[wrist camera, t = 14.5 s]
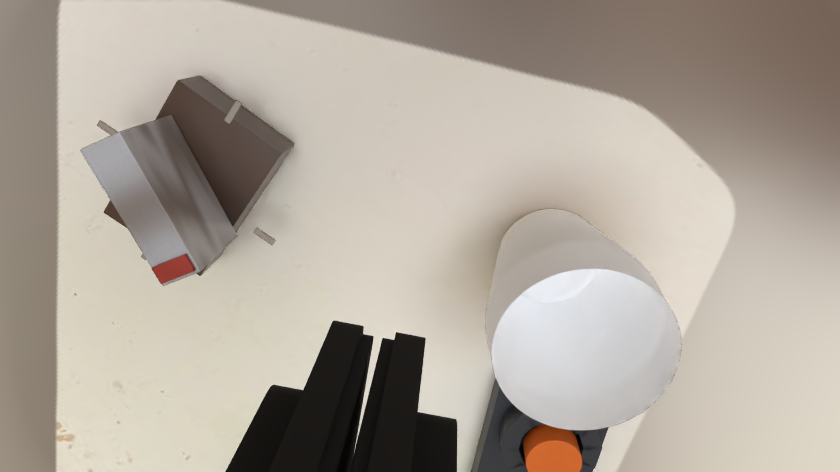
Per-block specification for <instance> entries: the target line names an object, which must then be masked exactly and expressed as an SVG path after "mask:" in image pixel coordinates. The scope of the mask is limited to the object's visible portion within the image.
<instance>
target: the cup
mask: <svg viewBox="0 0 840 472" xmlns="http://www.w3.org/2000/svg"><path fill="white" fill-rule="evenodd" d="M485 331H486V338H487V343H488V346H489V350H490V355H491V360H492V366H493V371H494V374H495V377H496V380H497V382H498V384H499V386H500V388H501V390H502V391H503V393H504V394H505V396H506V397H507V398H508V399H509V400H510V402H511V403H512V404H513V405H514V406H515V407H517V408H518V409H519V410H520V411H521V412H523V413H524V414H526V415H527V416H529V417H531V418H532V419H534V420H536V421H538V422H541V423H543V424H546V425H549V426H552V427H556V428H561V429H567V430H595V429H602V428H607V427H610V426H614V425H617V424H620V423H623V422H625V421H627V420H629V419H631V418H633V417H635V416H637V415H639V414H640V413H642V412H643V411H645V410H646V409H648V408H649V407H650V406H651V405H652V404H654V403H655V402H656V401H657V400H658V399H659V398H660V397H661V395H662V394H663V393H664V392H665V391H666V389H667V388H668V386H669V385H670V383H671V382H672V380H673V378H674V376H675V373H676V371H677V368H678V365H679V362H680V356H681V346H682V343H681V334H680V328H679V325H678V322H677V319H676V317H675V315H674V313H673V311H672V310H671V308H670V306H669V305H668V303H667V301H666V300H665V298H664V296H663V294H662V293H661V290H660V288H659V286H658V284H657V282H656V281H655V279H654V277H653V276H652V275H651V274H650V272H649V271H648V270H647V269H646V268H645V267H644V266H643V265H642V264H641V263H640V262H639V261H638V260H637V259H636V258H634V257H633V256H632V255H631V254H629V253H628V252H627V251H625V250H624V249H623V248H621V247H620V246H619V245H617V244H616V243H615V242H613V241H612V240H611V239H609V238H608V237H607V236H605V235H604V234H603V233H601V232H600V231H599V230H597V229H596V228H595V227H593V226H592V225H591V224H589V223H588V222H587V221H585V220H584V219H582V218H581V217H579V216H578V215H576V214H574V213H571V212H568V211H565V210H560V209H544V210H539V211H535V212H532V213H530V214H528V215H525V216H524V217H522V218H520V219H519V220H518V221H516V222H515V223H514V224H513V225H512V226H511V227H510V228H509V229H508V231H507V232H506V234H505V235H504V237H503V239H502V241H501V244H500V248H499V252H498V256H497V261H496V266H495V270H494V275H493V279H492V284H491V289H490V293H489V298H488V303H487V308H486V316H485Z"/></svg>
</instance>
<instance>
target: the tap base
mask: <svg viewBox="0 0 840 472" xmlns="http://www.w3.org/2000/svg"><path fill="white" fill-rule="evenodd" d="M241 105H242V103H240V102H239V101H237V100H236V101H234V100H233V99H232V98H230V97H229V96H228V95H226V94H225V93H223V92H222V91H221V90H219V89H218V88H216V87H215V86H214V85H212V84H211V83H210V82H208V81H207V80H205V79H204V78H203V77H201V76H195V77H191V78H186V79H181V80H178V81H177V82H176V84H175V86H174V88H173V89H172V91H171V93H170V95H169V97H168V98H167V100H166V102H165V104H164V105H163V107H162V109H161V111H160V113H159V114H158V116H157V118H156V120H157V119H160V118H163V117H166V116H169V115H172V117H173V119H174V120H175V122H176V124H177V126H178V128H179V129H180V131H181V133H182V135H183V137H184V139H185V140H186V142H187V144H188V146H189V148H190V150H191V151H192V153H193V155H194V157H195V159H196V161H197V162H198V164H199V166H200V168H201V170H202V172H203V173H204V175H205V177H206V179H207V181H208V183H209V184H210V186H211V188H212V190H213V192H214V193H215V195H216V197H217V199H218V201H219V203H220V204H221V206H222V208H223V210H224V212H225V214H226V215H227V217H228V219H229V221H230V223H231V225H232V226H233V228H234V230H235V232H236V231H237V230H238V228H239V227H240V225H241V224H242V222H243V221H244V219H245V218H246V216H247V215H248V213H249V212H250V210H251V209H252V207H253V206H254V204H255V203H256V201H257V200H258V198H259V197H260V195H261V194H262V192H263V191H264V189H265V188H266V186H267V185H268V183H269V182H270V180H271V179H272V177H273V176H274V174H275V173H276V171H277V170H278V168H279V167H280V165H281V164H282V162H283V161H284V159H285V158H286V156H287V155H288V153H289V152H290V150H291V149H292V147H293V146H294V143H293V142H291V141H290V140H288V139H287V138H286V137H284V136H283V135H282V134H280V133H279V132H277V131H276V130H275V129H273V128H272V127H270V126H269V125H268V124H266V123H265V122H264V121H262V120H261V119H259V118H258V117H257V116H255V115H254V114H252V113H251V112H250V111H248V110H247V109H246V108H244V107H243V106H241ZM97 126H98V127H100V128H101V129H103V130H104V131H106V132H107V133H109V134H110V135H113V134H115V133H118V132H117V131H116V130H114V129H113V128H111V127H110V126H108V125H107V124H106V123H104V122H103V121H101V120H100V121H99V122H98V124H97ZM104 213H105V214H107V215H108V216H110V217H111V218H113V219H114V220H116V221H117V222H119V223H120V224H122V225H123V226H125V227H126V228H127V226H126V225H125V223H124V221H123V220H122V218H121V216H120V215H119V213H118V211H117V210H116V208H115V207H114V205H113V203H112V202H111V200H110V202H109V203H108V205H107V207H106V209H105V211H104ZM253 233H255V234H256V235H258V236H259V237H261V238H262V239H264V240H265V241H267V242H268V243H269V244H271V245H273V244H274V243H275V241H276V240H275V239H273V238H272V237H270V236H269V235H267V234H266V233H264V232H263V231H261V230H260V229H259V228H256V229H255V230H254V232H253ZM225 248H226V247H225ZM225 248H224V249H225ZM224 249H223V250H222V251H221V252H220V253H219V254H218V255H217V256H216V257H215V258H214V259H213V260H212V261H211V262H210V263H209V264H208V265H207V266H206V267H205V268H204V269H202V270H201V271H200V272H198V273H196V274H198V275H199V276H201V275H202V274H203V273H204V272H205V271H206V270H207V269H208V268H209V267H210V266H211V265H212V264H213V263H214V262H215V261H216V260H217V259H218V258H219V257H220V255H221V254H222V252H223V251H224ZM141 257H142V258H143V259H145V260H147V259H146V257H145V256H144V254H142V256H141Z"/></svg>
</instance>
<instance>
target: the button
mask: <svg viewBox="0 0 840 472" xmlns="http://www.w3.org/2000/svg"><path fill="white" fill-rule="evenodd" d="M523 448H524V455H525V462H526V467H527V470H528V472H580V470H581V467H582V457H581V453H580V449H579V446H578V442H577V439H576V436H575V435H574V433H573V432H572V431H571V430H567V429H561V428H556V427H552V426H549V425H546V424H542V425H539V426H536V427H535V428H533V429H532V430H530V431H529V432H528V434H527V435H526V437H525V439H524V443H523Z"/></svg>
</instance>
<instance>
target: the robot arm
mask: <svg viewBox="0 0 840 472" xmlns="http://www.w3.org/2000/svg"><path fill="white" fill-rule="evenodd" d="M372 344H373V336H369V335H364V334H363V326H360V325H355V324H349V323H344V322H339V321H333V322H332V324H331V327H330V329H329V331H328V334H327V336H326V338H325V341H324V343H323V346H322V348H321V350H320V353H319V355H318V357H317V360H316V362H315V364H314V367H313V369H312V371H311V374H310V376H309V378H308V381H307V383H306V385H305V388H304V390H298V389H293V388H288V387H282V386H277V385H272V386H271V387H270V388H269V390H268V392H267V393H266V395H265V397H264V399H263V401H262V403H261V405H260V407H259V409H258V411H257V413H256V414H255V416H254V418H253V420H252V422H251V424H250V426H249V428H248V430H247V432H246V434H245V435H244V437H243V439H242V441H241V443H240V445H239V447H238V449H237V451H236V453H235V455H234V457H233V458H232V460H231V462H230V464H229V466H228V468H227V470H226V472H457V421H456V419H451V418H446V417H441V416H436V415H430V414H425V413H420V412H417V411H418V402H419V393H420V384H421V375H422V366H423V357H424V348H425V338H423V337H418V336H413V335H407V334H402V333H397V332H396V335H395V340H390V339H385V338H383V339H382V343H381V347H380V351H379V355H378V359H377V363H376V367H375V371H374V376H373V380H372V384H371V388H370V392H369V396H368V400H367V404H366V408H365V412H364V416H363V420H362V424H361V428H360V432H359V436H358V440H357V444H356V438H357V432H358V426H359V420H360V414H361V409H362V403H363V397H364V391H365V385H366V379H367V373H368V367H369V361H370V356H371V350H372ZM355 444H356V448H355ZM354 450H355V453H354ZM353 456H354V457H353Z"/></svg>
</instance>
